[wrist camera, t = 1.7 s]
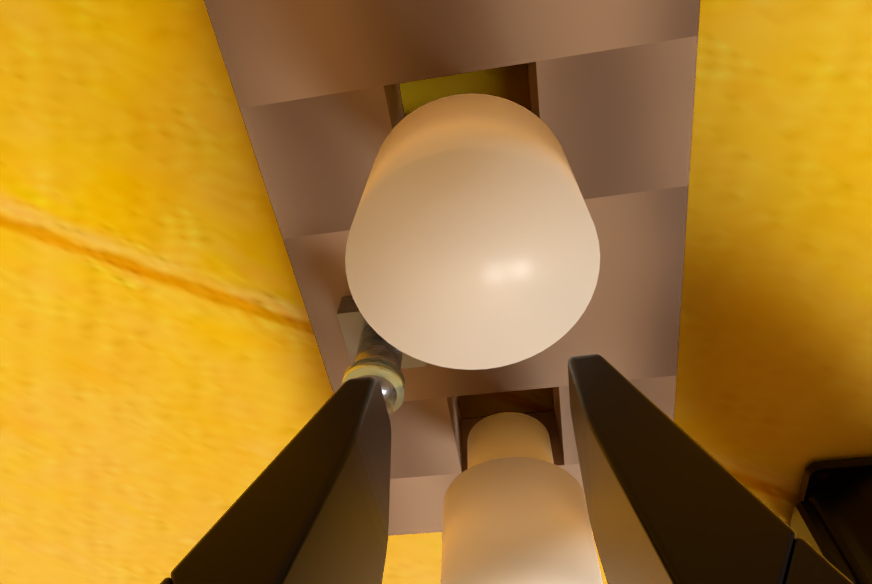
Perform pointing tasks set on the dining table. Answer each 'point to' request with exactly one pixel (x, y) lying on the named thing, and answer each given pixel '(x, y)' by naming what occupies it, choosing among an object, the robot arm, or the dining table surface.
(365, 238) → the knob
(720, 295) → the dining table surface
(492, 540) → the knob
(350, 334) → the potentiometer
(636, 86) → the mount
